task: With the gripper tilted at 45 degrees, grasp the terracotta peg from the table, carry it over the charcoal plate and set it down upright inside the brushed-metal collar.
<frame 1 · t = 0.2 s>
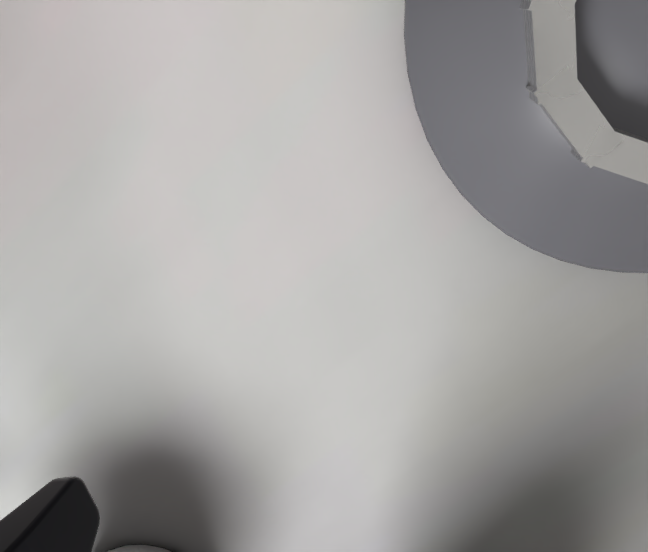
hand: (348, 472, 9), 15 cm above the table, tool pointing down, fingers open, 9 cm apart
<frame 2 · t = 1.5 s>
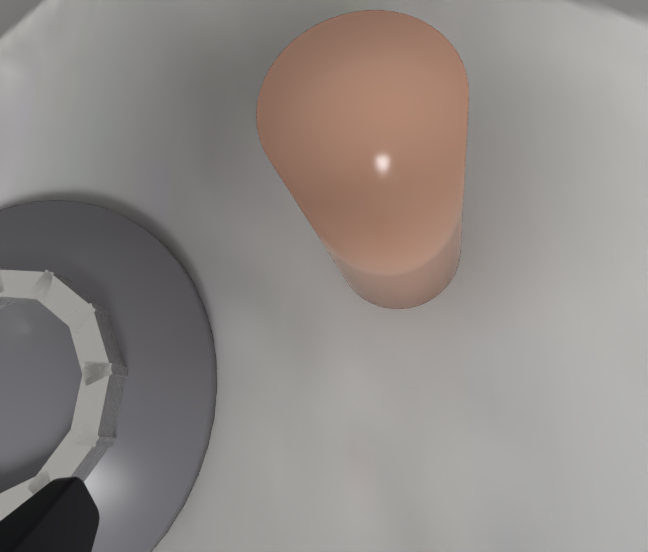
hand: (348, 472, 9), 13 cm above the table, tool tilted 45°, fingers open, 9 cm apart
charcoal plate: (25, 396, 25), on the table
terracotta peg: (398, 249, 24), on the table
metal collar: (1, 393, 24), on the charcoal plate, point 1 cm above the table
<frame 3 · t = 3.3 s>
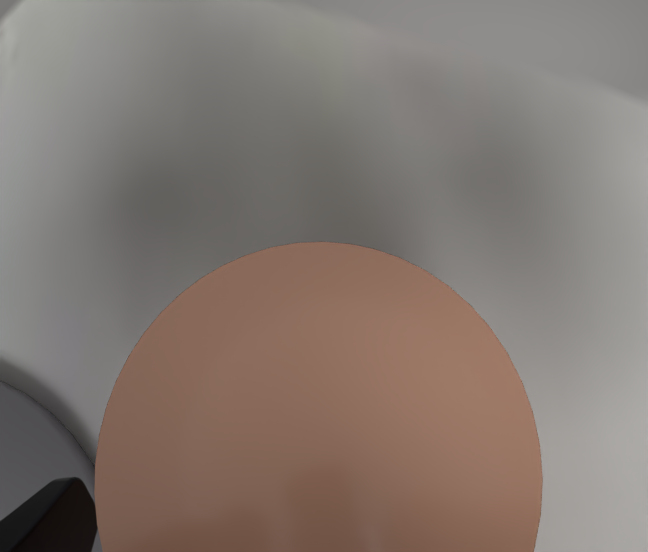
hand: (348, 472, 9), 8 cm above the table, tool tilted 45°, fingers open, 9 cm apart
terracotta peg: (394, 458, 17), on the table
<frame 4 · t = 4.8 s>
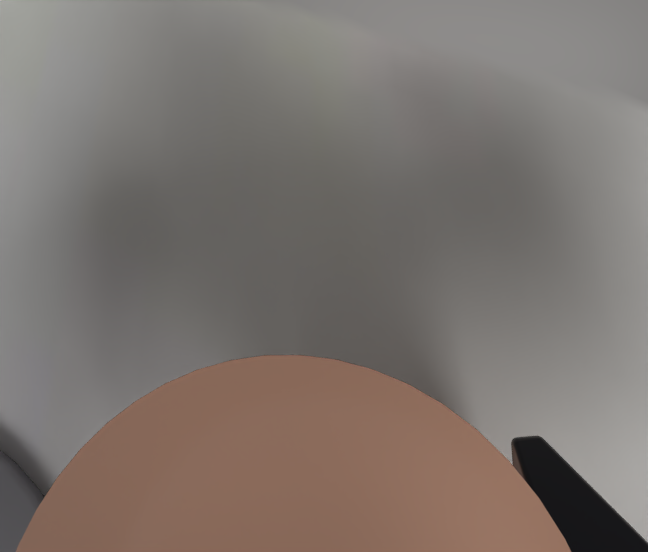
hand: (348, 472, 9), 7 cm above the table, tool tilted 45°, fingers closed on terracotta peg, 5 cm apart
terracotta peg: (396, 523, 15), on the table, touching gripper
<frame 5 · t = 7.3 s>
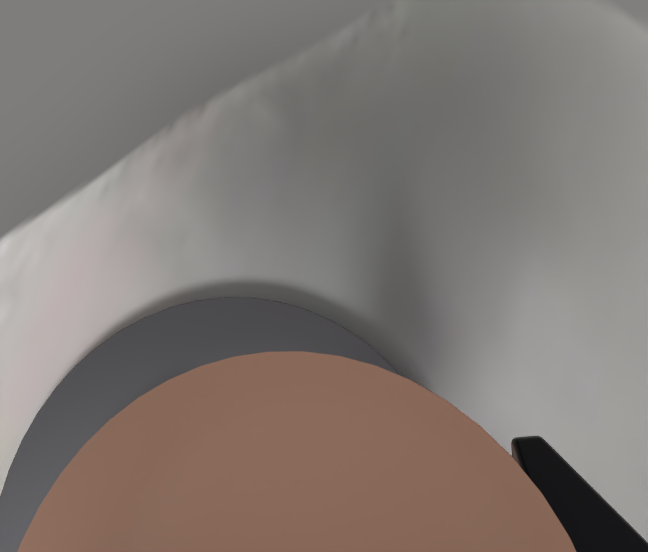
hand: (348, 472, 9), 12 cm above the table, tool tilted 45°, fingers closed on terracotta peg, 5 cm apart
charcoal plate: (218, 539, 21), on the table
terracotta peg: (397, 521, 15), point 6 cm above the table, touching gripper
when the fingers open (9 cm above the table, at t = 9.6 s): terracotta peg drops 1 cm, resting on charcoal plate.
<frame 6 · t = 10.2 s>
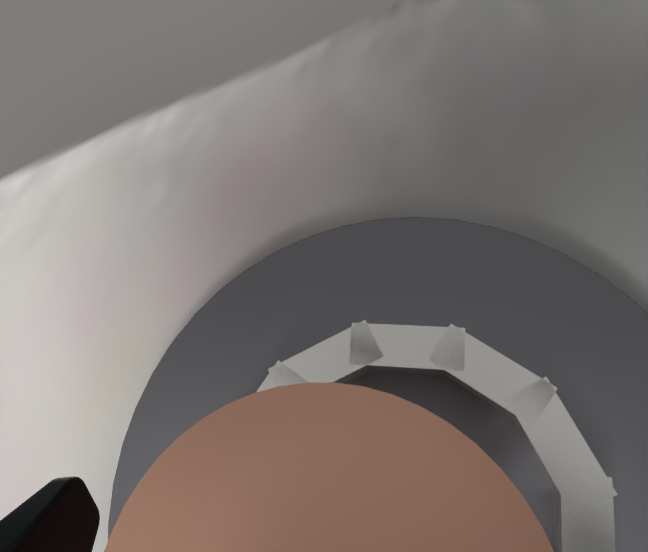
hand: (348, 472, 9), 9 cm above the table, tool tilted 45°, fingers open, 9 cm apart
charcoal plate: (403, 514, 17), on the table
terracotta peg: (401, 518, 16), point 1 cm above the table, touching charcoal plate
metal collar: (399, 519, 15), on the charcoal plate, point 1 cm above the table
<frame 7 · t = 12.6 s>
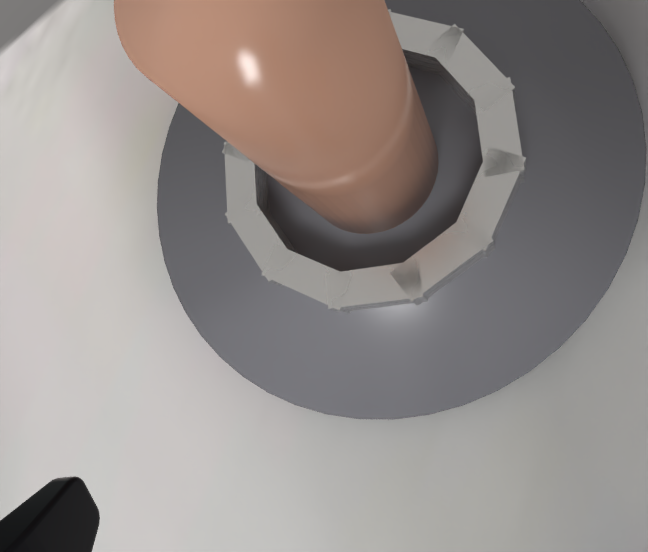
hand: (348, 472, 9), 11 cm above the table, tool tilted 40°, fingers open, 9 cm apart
charcoal plate: (373, 173, 22), on the table
terracotta peg: (369, 167, 21), point 1 cm above the table, touching charcoal plate
metal collar: (364, 160, 20), on the charcoal plate, point 1 cm above the table
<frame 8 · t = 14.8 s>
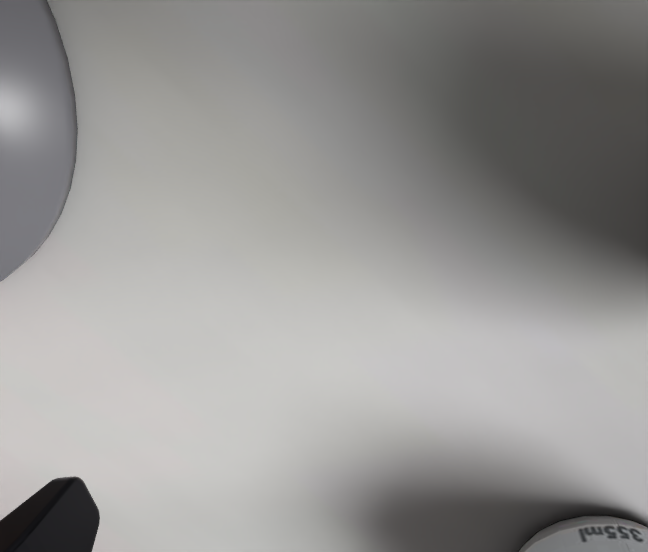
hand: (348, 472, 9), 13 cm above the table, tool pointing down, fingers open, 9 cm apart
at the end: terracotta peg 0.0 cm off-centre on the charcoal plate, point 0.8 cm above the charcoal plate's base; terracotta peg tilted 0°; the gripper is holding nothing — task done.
